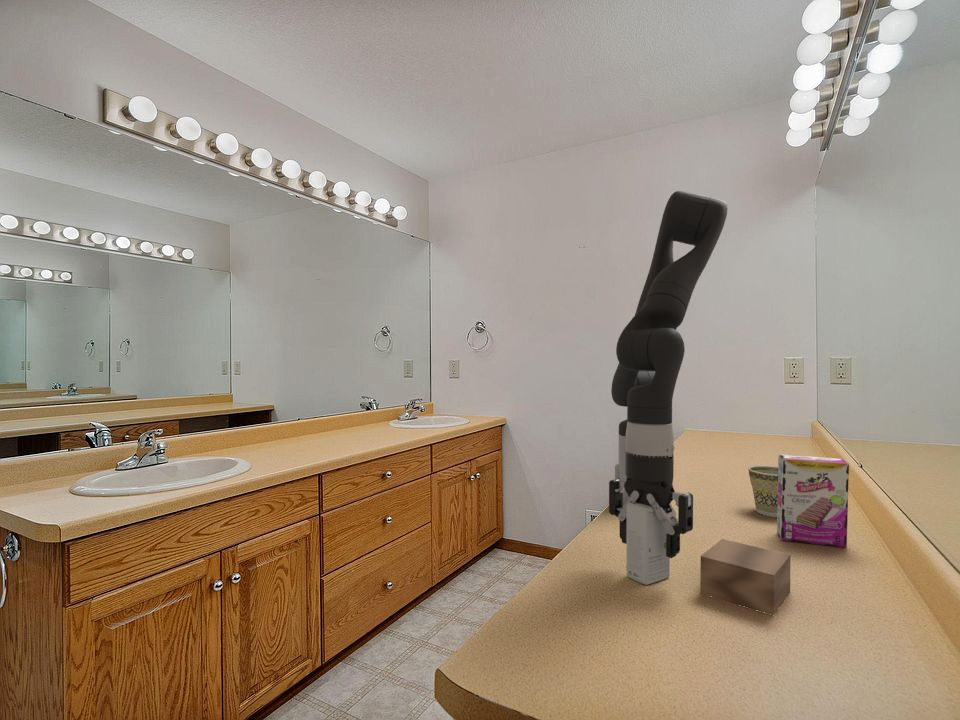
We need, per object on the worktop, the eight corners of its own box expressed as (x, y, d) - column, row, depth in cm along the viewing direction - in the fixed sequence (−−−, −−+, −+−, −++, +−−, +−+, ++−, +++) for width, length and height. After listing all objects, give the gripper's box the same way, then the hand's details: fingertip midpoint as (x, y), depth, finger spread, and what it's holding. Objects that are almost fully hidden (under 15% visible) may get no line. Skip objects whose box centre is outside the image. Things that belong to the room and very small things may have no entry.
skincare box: (646, 586, 81) (647, 509, 80) (624, 576, 84) (624, 503, 84) (671, 577, 84) (671, 503, 84) (648, 567, 88) (649, 497, 88)
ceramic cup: (750, 517, 115) (750, 472, 115) (745, 505, 125) (746, 464, 124) (818, 524, 110) (818, 478, 110) (808, 511, 120) (808, 468, 120)
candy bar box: (781, 541, 100) (782, 458, 100) (776, 533, 105) (776, 453, 105) (849, 549, 96) (850, 462, 96) (840, 539, 101) (841, 457, 101)
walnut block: (700, 594, 78) (700, 555, 78) (721, 574, 86) (722, 538, 86) (773, 617, 71) (774, 575, 71) (790, 593, 79) (790, 554, 79)
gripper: (599, 446, 87) (598, 543, 87) (680, 459, 76) (679, 569, 76) (623, 441, 92) (623, 532, 92) (702, 453, 81) (702, 556, 81)
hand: (648, 549), depth 84 cm, fingers open, 7 cm apart
